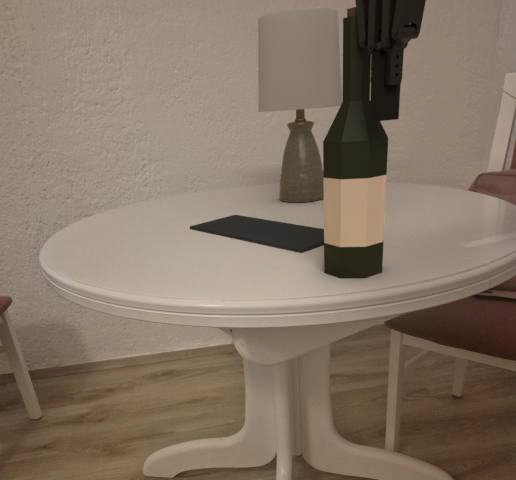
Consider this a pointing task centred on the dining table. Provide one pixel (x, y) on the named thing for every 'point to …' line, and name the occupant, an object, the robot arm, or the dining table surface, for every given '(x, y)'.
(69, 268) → the dining table surface
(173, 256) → the dining table surface
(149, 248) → the dining table surface
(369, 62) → the wine bottle
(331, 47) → the lamp
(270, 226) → the mat
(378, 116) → the robot arm
